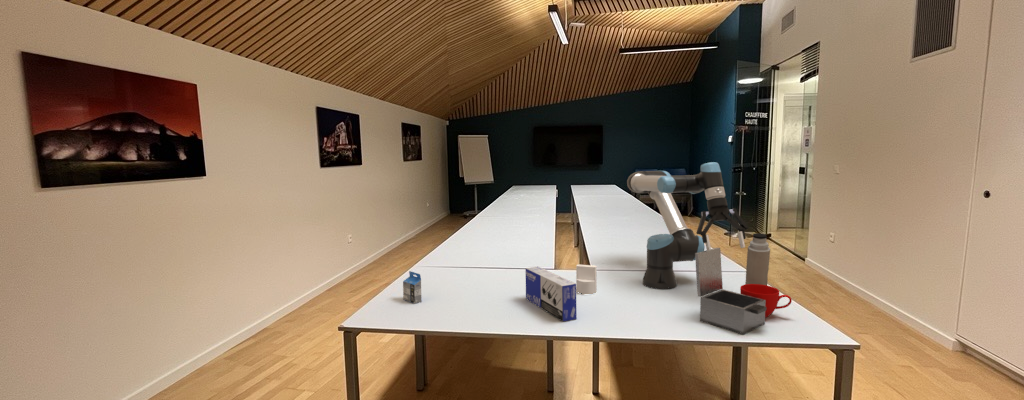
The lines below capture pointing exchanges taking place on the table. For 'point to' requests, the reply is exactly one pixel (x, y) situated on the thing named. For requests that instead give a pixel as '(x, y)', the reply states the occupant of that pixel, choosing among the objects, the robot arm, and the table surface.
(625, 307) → the table surface
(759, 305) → the grey rectangular box
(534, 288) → the ink box
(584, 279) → the base with upright slab
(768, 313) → the ceramic cup
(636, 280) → the table surface
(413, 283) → the label tape box
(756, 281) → the thermos bottle
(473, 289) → the table surface
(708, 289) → the lid
